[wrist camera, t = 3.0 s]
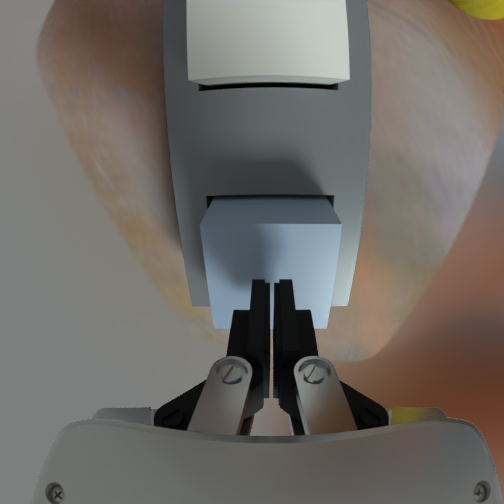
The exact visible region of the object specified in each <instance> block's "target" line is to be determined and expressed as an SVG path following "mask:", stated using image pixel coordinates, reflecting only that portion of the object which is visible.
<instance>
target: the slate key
mask: <svg viewBox="0 0 504 504" xmlns="http://www.w3.org/2000/svg"><path fill="white" fill-rule="evenodd" d="M200 230H201V238H202V246H203V254H204V262H205V270H206V277H207V284H208V291H209V298H210V305H211V311H212V318H213V324H214V328H221V329H231V322H232V315H233V310H250V299H251V287H252V279H265V283H270V329H273V314H274V283H279V279H292V282H293V290H294V299H295V307H296V310H308V309H310V310H311V314H312V320H313V325H314V329H317V328H327V323H328V317H329V312H330V306H331V300H332V294H333V288H334V282H335V275H336V269H337V261H338V254H339V247H340V238H341V230H342V223H341V221H340V220H339V218H338V216H337V214H336V213H335V211H334V209H333V207H332V206H331V204H330V202H329V201H328V199H327V197H326V196H325V195H294V194H262V195H215V196H214V198H213V200H212V202H211V204H210V206H209V208H208V210H207V212H206V214H205V216H204V218H203V220H202V222H201V224H200Z"/></svg>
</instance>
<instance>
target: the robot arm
mask: <svg viewBox="0 0 504 504" xmlns="http://www.w3.org/2000/svg"><path fill="white" fill-rule="evenodd" d="M269 381H270V283H265V279H252V287H251V299H250V310H233V315H232V322H231V329H230V335H229V342H228V349H227V355H226V357H223V358H221V359H220V360H218V361H216V362H215V363H214V364H213V366H212V367H211V369H210V372H209V375H208V377H207V379H206V380H205V381H203V382H202V383H200V384H198V385H197V386H195V387H193V388H192V389H190V390H188V391H187V392H185V393H183V394H182V395H180V396H178V397H177V398H175V399H173V400H171V401H170V402H168V403H166V404H165V405H163V406H161V407H160V408H159V409H154V410H152V409H151V407H145V408H103V409H100V410H98V411H97V412H96V413H95V414H94V415H93V418H92V419H88V420H81V421H77V422H73V423H70V424H68V425H67V426H66V427H64V428H63V429H62V430H61V431H60V432H59V433H58V435H57V436H56V438H55V440H54V441H53V443H52V445H51V447H50V449H49V451H48V453H47V456H46V458H45V460H44V463H43V465H42V468H41V471H40V473H39V476H38V479H37V483H36V486H35V489H34V493H33V496H32V500H31V503H30V504H503V500H502V495H501V490H500V485H499V481H498V476H497V472H496V469H495V465H494V462H493V459H492V456H491V453H490V451H489V448H488V446H487V443H486V441H485V439H484V437H483V435H482V434H481V432H480V431H479V429H478V428H477V427H476V426H475V425H474V424H472V423H470V422H468V421H465V420H461V419H455V418H447V417H446V414H445V413H444V412H443V411H442V410H440V409H439V408H433V407H391V409H385V408H383V407H382V406H381V405H379V404H378V403H376V402H374V401H373V400H371V399H369V398H368V397H366V396H364V395H363V394H361V393H360V392H358V391H356V390H355V389H353V388H351V387H350V386H348V385H347V384H345V383H343V382H342V381H340V380H339V378H338V376H337V373H336V370H335V368H334V366H333V364H332V363H331V362H330V361H329V360H327V359H325V358H323V357H319V356H318V350H317V344H316V337H315V331H314V325H313V320H312V314H311V310H310V309H308V310H296V307H295V299H294V290H293V282H292V279H279V283H274V314H273V387H274V388H273V390H274V391H273V395H274V396H273V397H274V398H279V405H280V408H281V409H283V410H284V411H285V412H287V413H288V420H289V424H290V430H291V434H292V436H250V433H251V429H252V424H253V420H254V414H255V413H256V412H258V411H259V410H260V409H262V408H263V402H264V398H269Z"/></svg>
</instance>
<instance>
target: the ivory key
mask: <svg viewBox="0 0 504 504" xmlns="http://www.w3.org/2000/svg"><path fill="white" fill-rule="evenodd" d="M187 61H188V81H192V82H196V83H200V84H203V85H207V86H210V87H211V86H223V85H240V84H305V85H322V86H327V85H331V84H334V83H338V82H342V81H346V80H350V72H349V42H348V25H347V12H346V1H345V0H187Z"/></svg>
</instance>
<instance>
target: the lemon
mask: <svg viewBox="0 0 504 504" xmlns="http://www.w3.org/2000/svg"><path fill="white" fill-rule="evenodd" d="M449 1H450V2H451V3H452V4H453V5H454V6H456V7H457V8H458V9H460V10H461V11H463V12H465V13H466V14H468V15H471V16H474V17H477V18H480V19H490V20H496V19H502V18H504V0H449Z"/></svg>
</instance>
